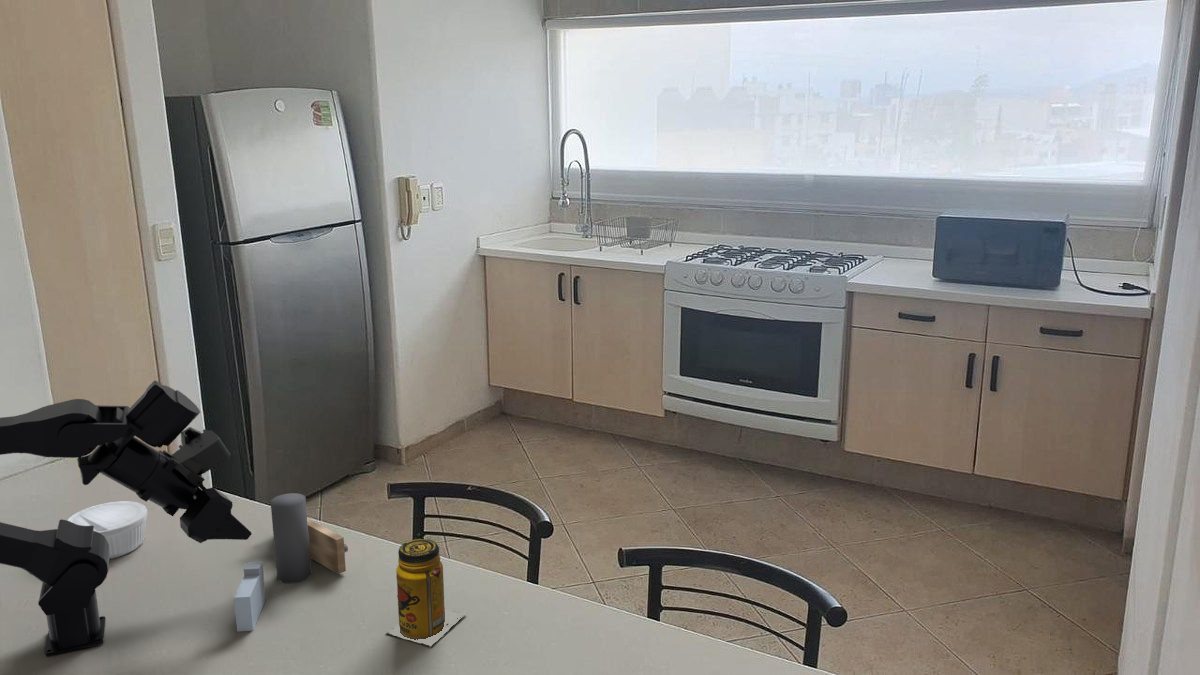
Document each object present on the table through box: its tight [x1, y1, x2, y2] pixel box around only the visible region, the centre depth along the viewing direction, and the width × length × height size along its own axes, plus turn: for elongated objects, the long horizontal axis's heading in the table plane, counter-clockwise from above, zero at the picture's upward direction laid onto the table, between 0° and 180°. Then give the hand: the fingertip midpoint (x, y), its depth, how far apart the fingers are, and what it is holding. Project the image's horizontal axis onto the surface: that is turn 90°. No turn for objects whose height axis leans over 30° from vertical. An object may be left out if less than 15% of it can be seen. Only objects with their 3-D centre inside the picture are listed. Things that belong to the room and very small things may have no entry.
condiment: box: [395, 538, 467, 640], centre depth 118 cm, size 7×8×12 cm
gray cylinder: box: [270, 492, 312, 584], centre depth 130 cm, size 5×5×12 cm
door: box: [307, 517, 349, 575], centre depth 136 cm, size 14×2×6 cm, turn 50°
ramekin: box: [66, 500, 148, 560], centre depth 139 cm, size 11×11×5 cm
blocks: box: [233, 560, 266, 632], centre depth 130 cm, size 28×2×6 cm, turn 8°
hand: (237, 524), depth 124 cm, fingers open, 9 cm apart
